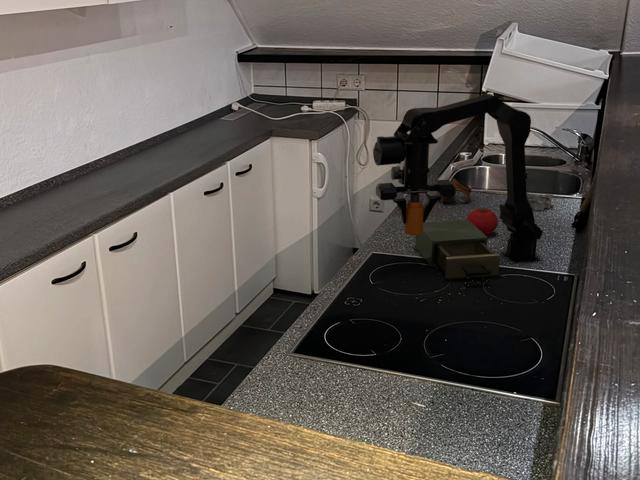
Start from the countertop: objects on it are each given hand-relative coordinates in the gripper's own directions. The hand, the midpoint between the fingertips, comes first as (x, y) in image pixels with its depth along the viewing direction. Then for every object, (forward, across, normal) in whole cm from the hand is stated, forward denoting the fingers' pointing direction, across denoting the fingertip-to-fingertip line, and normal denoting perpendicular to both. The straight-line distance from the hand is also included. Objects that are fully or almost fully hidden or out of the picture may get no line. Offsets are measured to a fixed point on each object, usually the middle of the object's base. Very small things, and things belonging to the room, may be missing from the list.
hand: (413, 222), depth 191 cm
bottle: (+2, 0, 0) cm, 3 cm away
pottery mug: (+13, -29, -54) cm, 62 cm away
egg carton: (+13, -52, -45) cm, 70 cm away
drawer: (+12, -13, +4) cm, 18 cm away
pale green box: (+13, -13, -9) cm, 20 cm away
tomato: (+13, -27, -23) cm, 37 cm away
